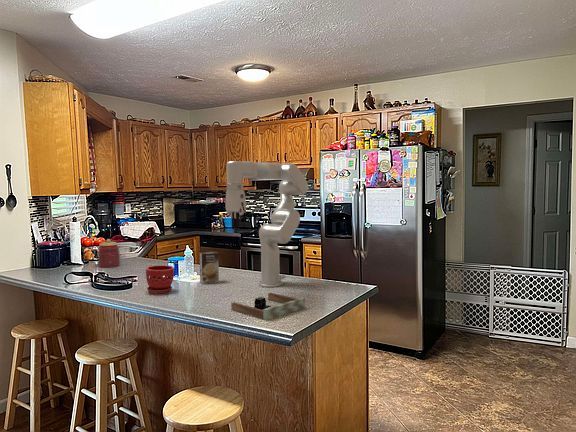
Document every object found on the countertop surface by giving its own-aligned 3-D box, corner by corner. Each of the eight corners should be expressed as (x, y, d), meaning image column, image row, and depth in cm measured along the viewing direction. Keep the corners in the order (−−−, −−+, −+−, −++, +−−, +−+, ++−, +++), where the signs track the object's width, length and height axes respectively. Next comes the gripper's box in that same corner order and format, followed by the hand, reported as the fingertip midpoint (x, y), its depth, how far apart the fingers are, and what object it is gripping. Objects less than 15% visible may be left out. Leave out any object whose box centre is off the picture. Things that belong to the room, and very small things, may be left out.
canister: (116, 263, 288) (115, 237, 286) (123, 266, 278) (122, 239, 276) (95, 265, 279) (94, 238, 278) (101, 268, 269) (100, 240, 268)
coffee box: (201, 284, 225) (201, 253, 224) (199, 281, 231) (199, 252, 230) (219, 282, 229) (218, 252, 228) (216, 280, 235) (216, 251, 234)
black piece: (262, 304, 189) (262, 294, 189) (276, 307, 185) (276, 296, 185) (244, 311, 179) (244, 300, 179) (258, 314, 175) (258, 302, 175)
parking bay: (270, 299, 196) (270, 290, 195) (305, 307, 182) (305, 298, 181) (231, 310, 179) (231, 300, 178) (266, 320, 165) (266, 310, 164)
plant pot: (151, 296, 202) (151, 270, 201) (142, 290, 212) (142, 266, 212) (178, 292, 209) (177, 267, 209) (168, 287, 220) (168, 263, 219)
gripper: (251, 187, 199) (252, 227, 200) (230, 187, 209) (231, 225, 210) (239, 187, 193) (239, 228, 195) (218, 187, 203) (219, 226, 205)
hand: (235, 226), depth 202 cm, fingers closed
